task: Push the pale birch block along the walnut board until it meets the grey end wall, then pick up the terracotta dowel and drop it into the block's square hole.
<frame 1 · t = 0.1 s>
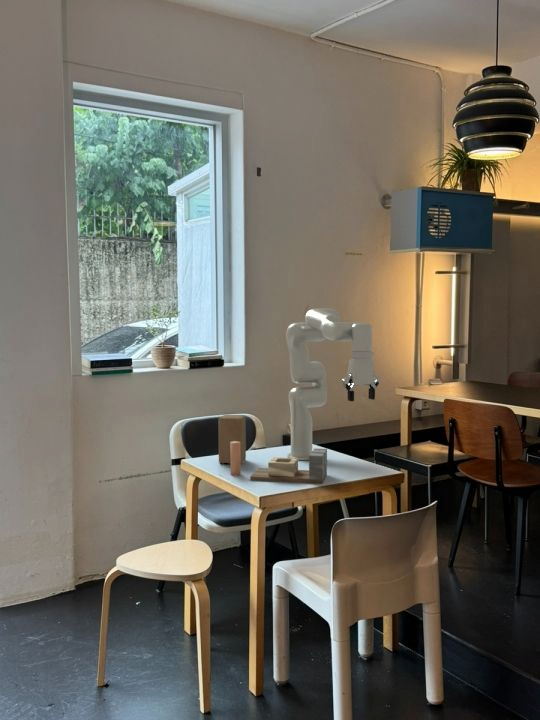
hand: (361, 400, 265), 31 cm above the table, tool pointing down, fingers open, 9 cm apart
backstop board: (289, 477, 272), on the table
sliding block: (283, 466, 272), point 4 cm above the table, slide at 6.0 cm
dowel: (235, 474, 277), on the table
block: (232, 462, 299), on the table
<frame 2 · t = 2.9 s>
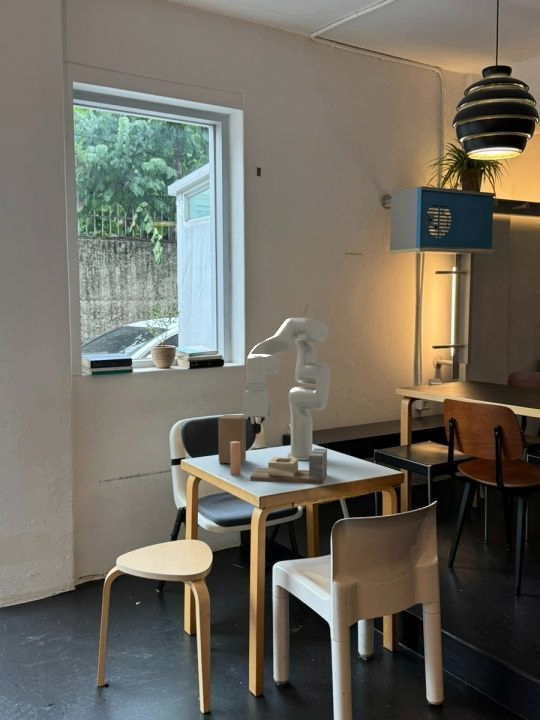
hand: (256, 433, 273), 17 cm above the table, tool pointing down, fingers closed
nothing on the table moved.
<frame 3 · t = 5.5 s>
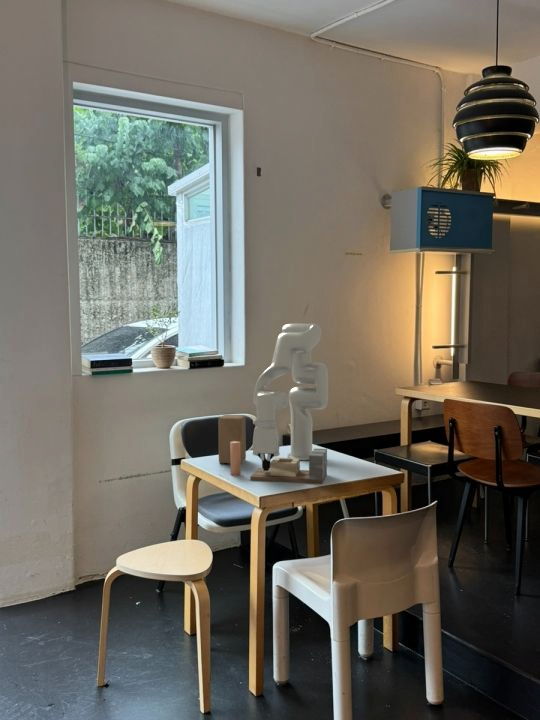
hand: (266, 470, 273), 3 cm above the table, tool pointing down, fingers closed
sliding block: (285, 466, 272), point 4 cm above the table, slide at 5.3 cm, touching gripper
everything else where it was.
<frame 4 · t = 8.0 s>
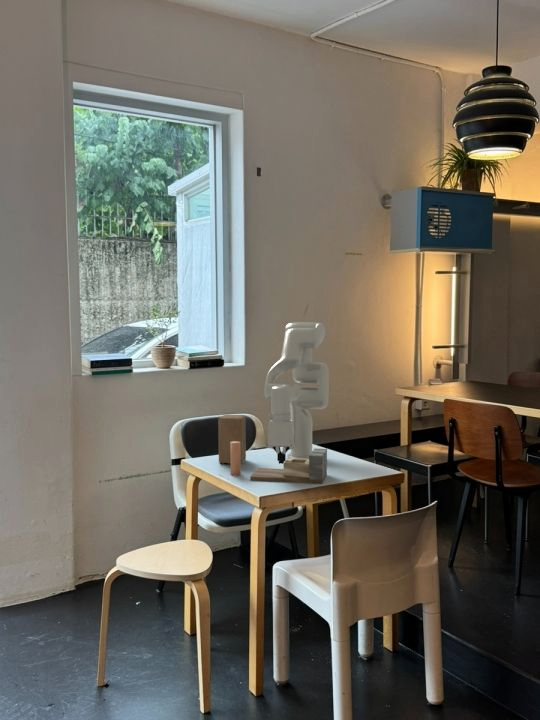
hand: (281, 462, 273), 6 cm above the table, tool pointing down, fingers closed
sliding block: (298, 467, 271), point 4 cm above the table, slide at 0.0 cm
everything else where it was.
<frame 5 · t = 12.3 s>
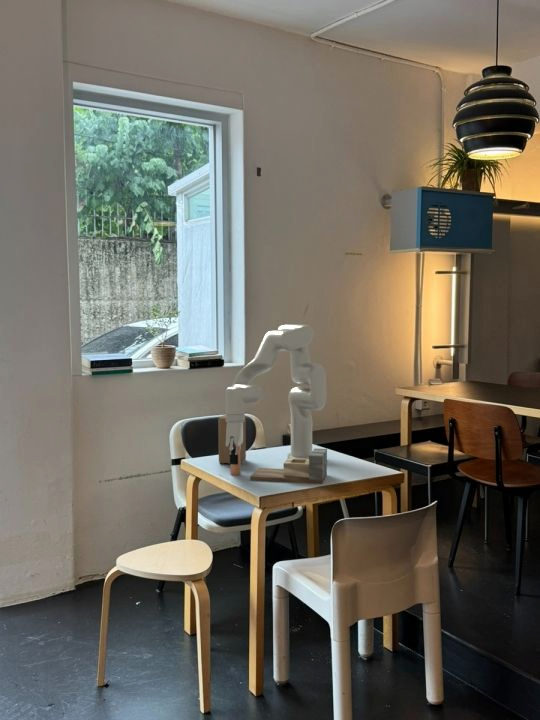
hand: (235, 462, 277), 5 cm above the table, tool pointing down, fingers closed on dowel, 4 cm apart
dowel: (235, 474, 277), on the table, touching gripper
everything else where it was.
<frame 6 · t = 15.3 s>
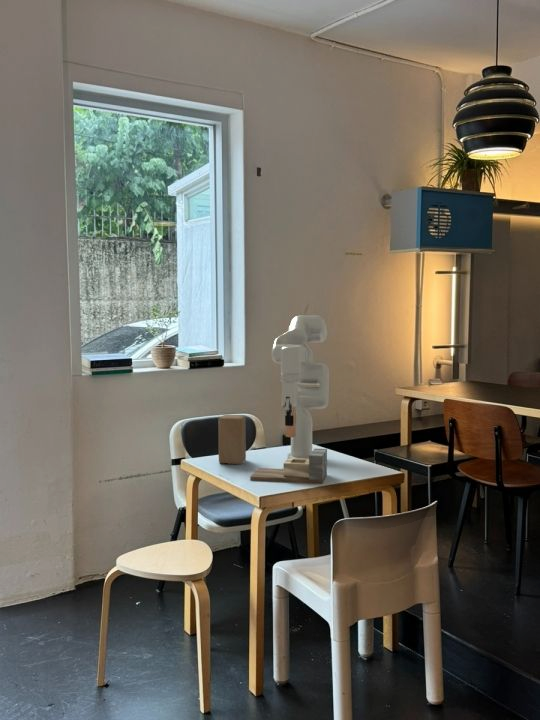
hand: (290, 424, 270), 21 cm above the table, tool pointing down, fingers closed on dowel, 4 cm apart
dowel: (290, 436, 270), point 16 cm above the table, touching gripper
everything else where it was.
when the fingers open (8 cm above the table, at t = 18.5 s): dowel drops 1 cm, resting on backstop board.
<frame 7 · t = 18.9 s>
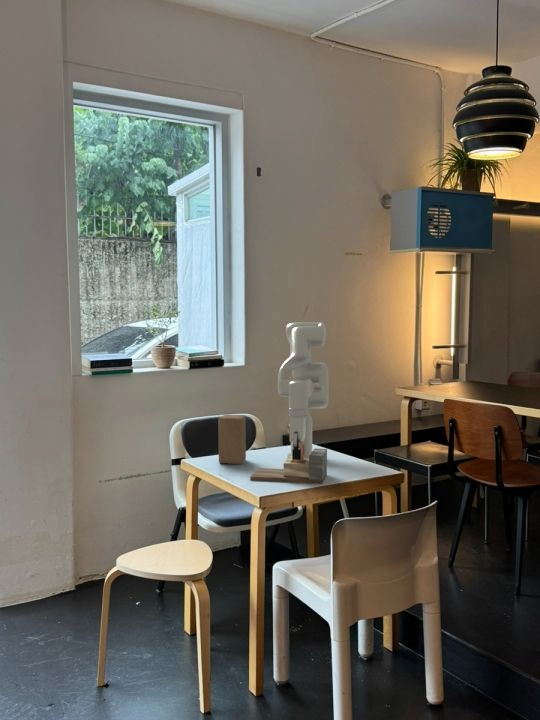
hand: (298, 456, 270), 8 cm above the table, tool pointing down, fingers open, 7 cm apart
dowel: (298, 474, 271), point 2 cm above the table, touching backstop board
everything else where it was.
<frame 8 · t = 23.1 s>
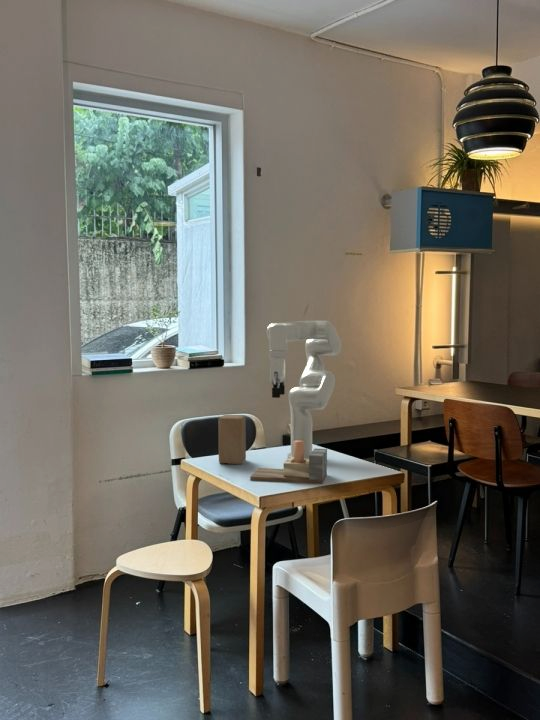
hand: (278, 396, 284), 30 cm above the table, tool pointing down, fingers open, 9 cm apart
nothing on the table moved.
at the end: sliding block slide at 0.0 cm; dowel 0.1 cm from the target spot, point 1.5 cm above the table; dowel tilted 1° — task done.
